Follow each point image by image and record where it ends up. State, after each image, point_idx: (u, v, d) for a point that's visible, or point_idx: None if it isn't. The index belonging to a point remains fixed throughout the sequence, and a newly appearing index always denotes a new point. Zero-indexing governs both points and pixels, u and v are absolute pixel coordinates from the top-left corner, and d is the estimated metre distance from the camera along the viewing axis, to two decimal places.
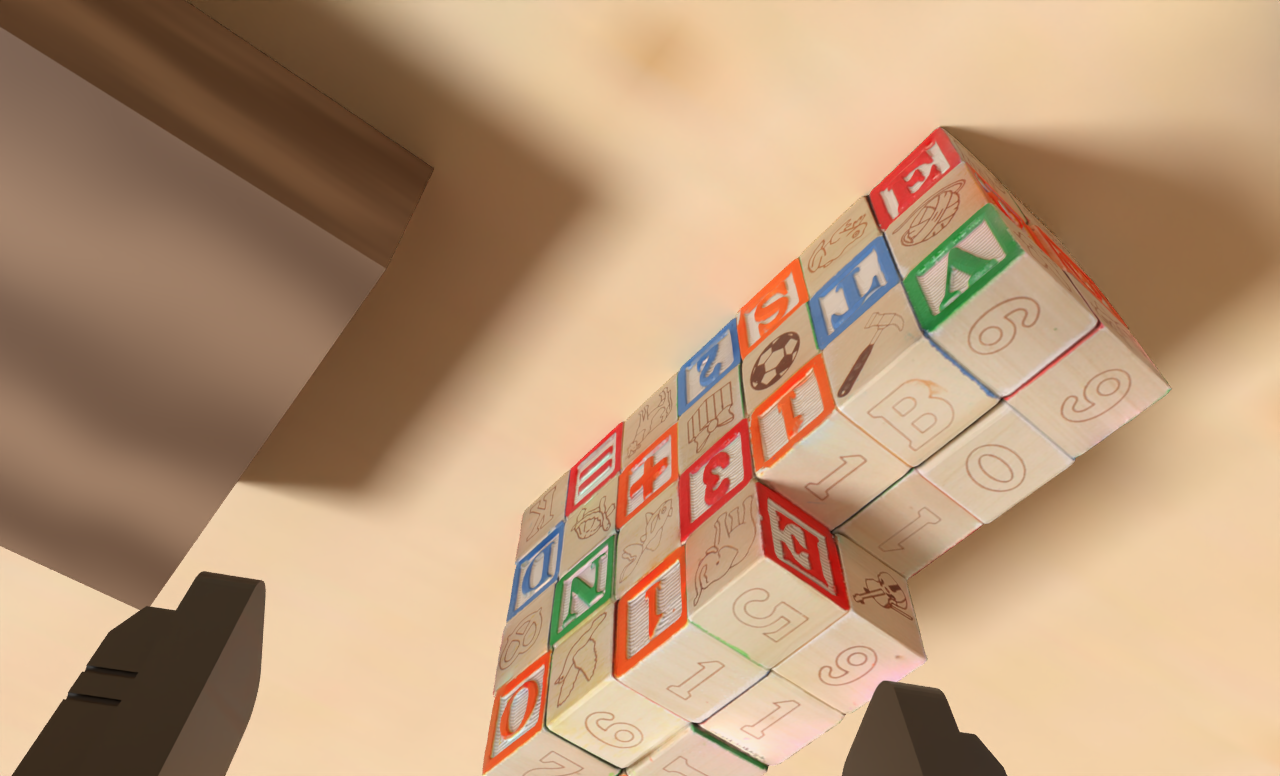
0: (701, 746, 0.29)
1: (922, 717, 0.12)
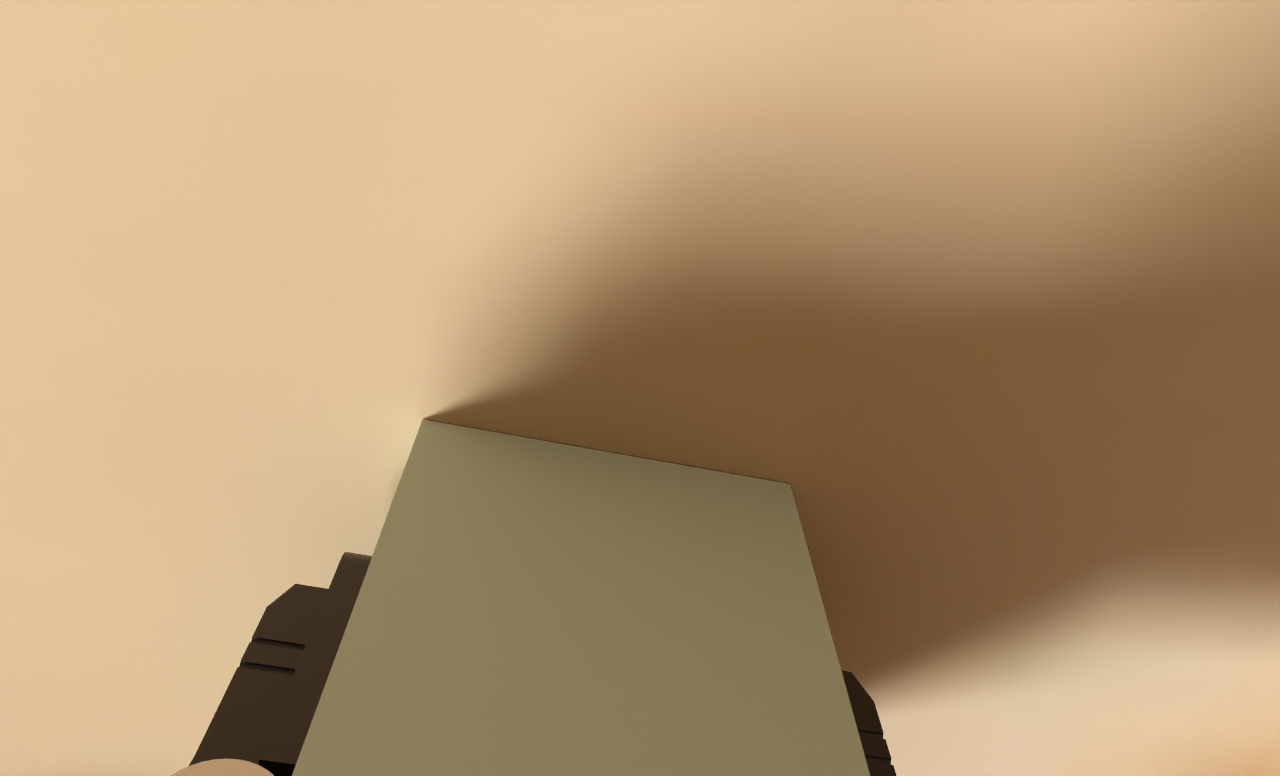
0: None
1: None
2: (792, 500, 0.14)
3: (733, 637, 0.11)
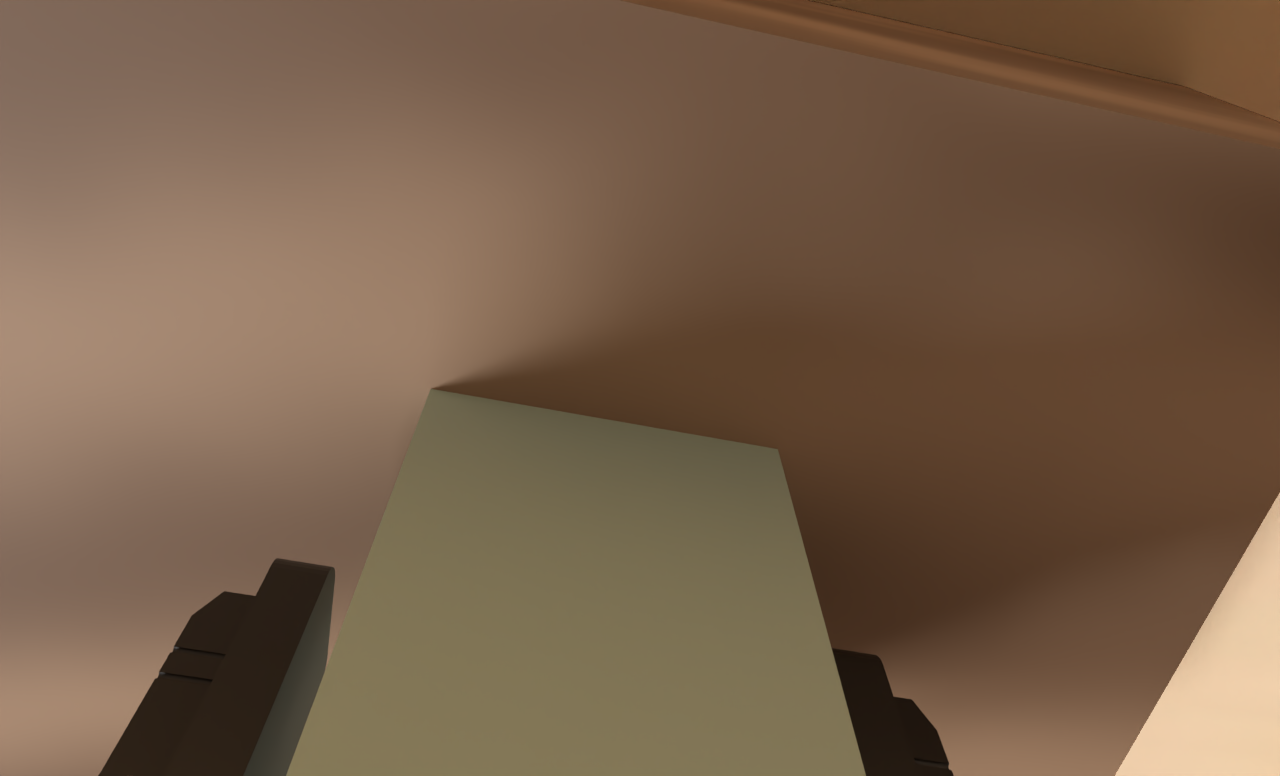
0: None
1: (857, 681, 0.13)
2: (779, 463, 0.14)
3: (721, 583, 0.12)
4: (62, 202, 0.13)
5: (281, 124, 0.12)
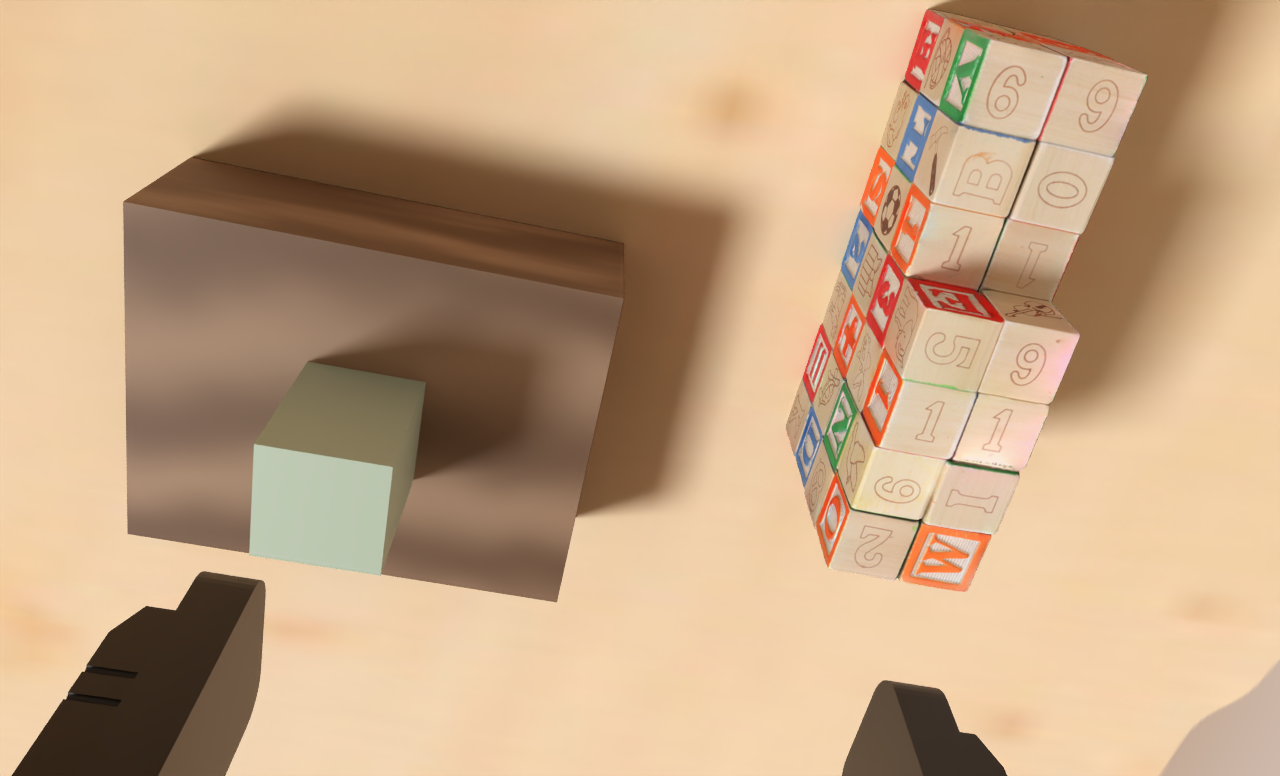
0: (962, 475, 0.40)
1: (922, 717, 0.12)
2: (423, 386, 0.43)
3: (382, 415, 0.40)
4: (190, 303, 0.42)
5: (257, 280, 0.41)
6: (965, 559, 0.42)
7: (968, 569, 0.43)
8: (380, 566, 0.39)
